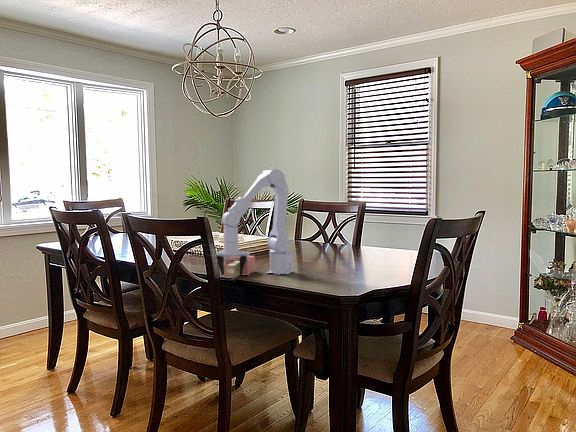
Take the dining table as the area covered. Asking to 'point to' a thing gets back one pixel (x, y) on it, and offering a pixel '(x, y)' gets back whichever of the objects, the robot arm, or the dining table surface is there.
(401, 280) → the dining table surface
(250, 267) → the dispenser
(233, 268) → the cream block
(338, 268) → the dining table surface
